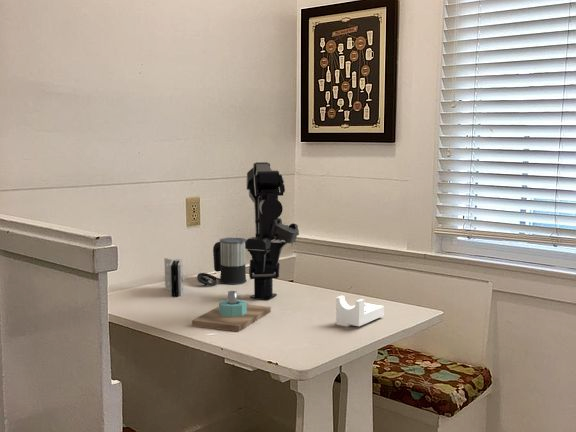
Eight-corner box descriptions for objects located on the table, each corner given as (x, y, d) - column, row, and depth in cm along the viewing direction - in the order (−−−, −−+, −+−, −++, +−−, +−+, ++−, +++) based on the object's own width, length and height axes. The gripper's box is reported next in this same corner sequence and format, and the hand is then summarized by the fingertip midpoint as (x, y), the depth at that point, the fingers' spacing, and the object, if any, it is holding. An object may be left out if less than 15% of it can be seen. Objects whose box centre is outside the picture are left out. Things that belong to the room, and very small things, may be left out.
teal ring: (227, 308, 183) (227, 298, 183) (250, 311, 180) (249, 300, 180) (215, 315, 177) (215, 304, 176) (238, 317, 174) (238, 306, 174)
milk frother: (251, 280, 226) (251, 238, 224) (228, 290, 212) (227, 245, 210) (216, 276, 232) (216, 235, 230) (191, 285, 218) (190, 242, 216)
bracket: (358, 329, 169) (359, 301, 168) (336, 325, 173) (336, 297, 172) (383, 318, 179) (384, 291, 178) (361, 314, 183) (361, 288, 183)
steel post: (230, 313, 180) (230, 290, 179) (238, 314, 179) (238, 291, 179) (226, 315, 178) (226, 292, 177) (234, 316, 177) (234, 293, 176)
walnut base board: (226, 307, 191) (226, 302, 190) (270, 311, 185) (270, 306, 185) (191, 325, 172) (191, 320, 172) (239, 331, 167) (239, 325, 167)
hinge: (164, 287, 216) (164, 257, 215) (181, 286, 218) (180, 257, 216) (170, 297, 203) (169, 265, 202) (187, 296, 204) (187, 264, 203)
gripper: (281, 220, 172) (282, 278, 174) (306, 212, 189) (306, 265, 191) (243, 218, 176) (244, 275, 178) (271, 211, 193) (271, 263, 195)
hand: (268, 269), depth 185 cm, fingers open, 9 cm apart
